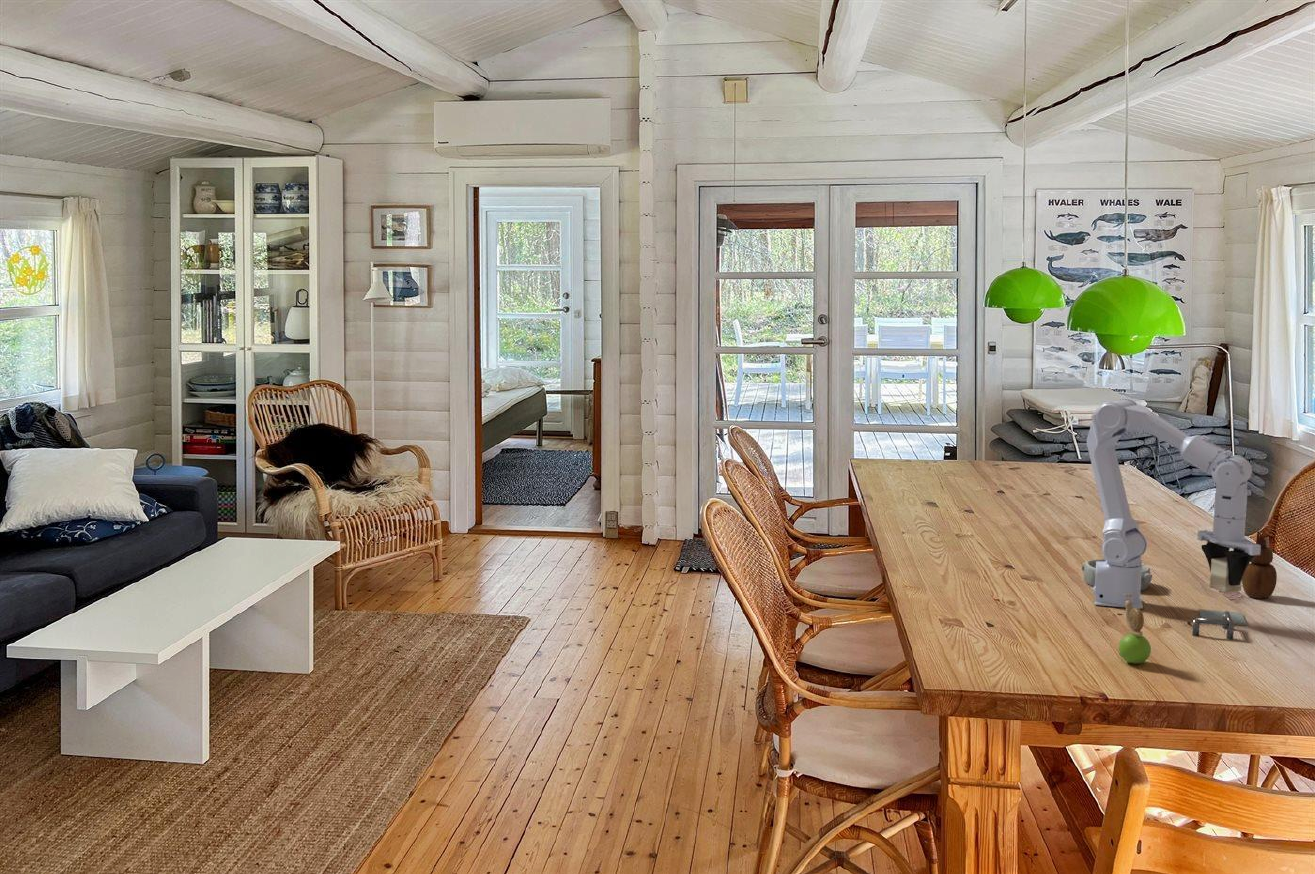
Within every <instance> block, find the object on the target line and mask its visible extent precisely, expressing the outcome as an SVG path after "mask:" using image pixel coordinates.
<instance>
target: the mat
mask: <svg viewBox="0 0 1315 874" xmlns="http://www.w3.org/2000/svg"><path fill="white" fill-rule="evenodd" d="M1225 611H1226V610H1225ZM1225 611H1224V610H1215V609H1214V610H1211V609H1201V608H1198V612H1199V615H1200V618H1205V619H1217V620H1223V613H1224V612H1225ZM1228 612H1229V613H1230V616H1231V618H1232V621H1233V622H1234V626H1235V625H1236V626H1246V627H1247V622H1246V619H1245V617H1244V615H1243V613H1242V612H1237V611H1235V612H1234V611H1228Z"/></svg>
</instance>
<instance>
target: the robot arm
mask: <svg viewBox="0 0 1315 874" xmlns="http://www.w3.org/2000/svg"><path fill="white" fill-rule="evenodd" d="M1127 431H1144V432H1147V434H1148V433H1149V434H1150V435H1152V436H1154V437H1156V438H1158V439H1160V440H1161V441H1163V442H1164V443H1166V444H1169V445H1170V446H1172V447H1175V448H1176V449H1177V450H1179V454H1180V457H1181V459H1183V460H1184V461H1186V462H1187V463H1189V464H1191V465H1192V466H1194V467H1195V468H1197V469H1198V470H1201V471H1202V472H1204V473H1205V474H1208V475H1209V476H1211V477H1212V480H1213V482H1214V483H1215V493H1214V508H1213V525H1212V531H1211V530H1207V529H1203V530H1197V538H1196V539H1197V540H1198V541H1202V542H1203V541H1204V542H1206V544H1202V545H1201V547H1200V548H1201V550H1202V551H1203V554H1204V555H1205V557H1206V559H1207V560H1206V561H1207V563H1208V567H1209V571H1210V573H1211V559H1214V558H1224V557H1226V559H1227V563H1228V580H1229V585H1231V586H1235V585H1240V582H1241V580H1242V577H1243V574H1244V572H1245V570H1246V568H1247V566H1248V564H1250V563H1251V562H1250V561H1251V560H1252V559H1253V557H1254V556H1255V555H1260V550H1261V545H1258V544H1256V542H1254V541H1251V540H1249V539H1247V538H1245V535H1246V533H1245V532H1246V518H1247V516H1246V515H1247V503H1248V481H1249V480H1250V478H1251V477H1252V474H1253V468H1252V464H1251V463H1250V461H1249V460H1247V459H1246V458H1245V457H1244V456H1243V455H1240V454H1237V455H1236V454H1234V455H1233V452H1232V451H1231V450H1230V449H1227V450H1225V449H1223V448H1221V447H1220V446H1218V445H1217V444H1215V443H1213V442H1212V441H1211V440H1212V438H1211V437H1209V436H1207V435H1203V436H1201V435H1200V434H1196V435H1192V436H1190V435H1188V434H1186V433H1185V432H1184V431H1181V430H1180V429H1179V428H1177V427H1176V426H1174V425H1172V423H1170V422H1168V421H1167V420H1165V419H1164V418H1162V417H1160V416H1159V415H1157V414H1156V413H1154V412H1153V411H1151V410H1150V409H1149V408H1148V407H1146V406H1145V405H1142V404H1140V403H1137V402H1136V401H1134V400H1133V399H1130V398H1122V399H1119V400H1116V401H1108V402H1104V403H1101V404H1100V405H1099V406H1098V408H1096V410H1095V411H1094V412H1093V413H1092V414H1091V424H1090V428H1089V431H1088V434H1087V439H1086V445H1087V449H1088V454H1089V459H1090V463H1091V466H1092V472H1093V475H1094V479H1095V484H1096V487H1097V492H1098V496H1099V500H1100V504H1101V505H1100V506H1101V508H1102V509H1101V510H1102V513H1103V516H1104V526H1103V528H1102V538H1103V539H1102V541H1103V542H1102V545H1101V551H1102V555H1103V557H1104V559H1106V561H1103V562H1100V561H1097V562H1096V578H1095V586H1094V587H1093V586H1092V587H1093V589H1092V590H1093V591H1092V592H1093V593H1092V594H1093V595H1094V605H1096V606H1103V607H1104V606H1106V607H1115V608H1117V607H1118V608H1126V606H1125V602H1126V600H1130V601H1131V602H1132V603H1133V606H1132V608H1139V609H1140V610H1143V608H1144V605H1143V598H1142V597H1141V594H1142V593H1141V592H1142V590H1141V573H1142V564H1143V561H1142V558H1141V557H1142V556H1143V555H1144V554H1145V553H1146V552H1147V548H1148V541H1147V538H1146V537H1145V535H1144V534H1143V533H1142V531H1141V530H1140V528H1139V523H1138V522H1137V521H1136V520H1135V519H1134V517H1133V516H1132V514H1131V510H1130V507H1129V501H1128V498H1127V493H1126V489H1125V484H1124V479H1123V477H1122V473H1121V468H1120V464H1119V460H1118V456H1117V452H1116V448H1115V445H1116V444H1117V443H1118V441H1119V440H1120V439H1121V437H1122V436H1123V435H1124V433H1126V432H1127ZM1230 549H1232V550H1230ZM1125 594H1128V595H1129V594H1131V595H1132V596H1131V597H1129V596H1128V597H1127V598H1126V596H1125Z"/></svg>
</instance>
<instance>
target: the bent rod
mask: <svg viewBox="0 0 1315 874" xmlns="http://www.w3.org/2000/svg"><path fill="white" fill-rule="evenodd" d="M1229 612H1230V611H1229V610H1225V612H1224V613H1223V620H1217V619H1205V618H1201V617H1195V619H1193V620H1192V633H1191V634H1192V636H1194V637H1199V636H1200V625H1201V624H1204V625H1217V626H1222V629H1225V630H1226V636H1225V638H1226V639H1227V640H1233V639H1234V630H1235V625H1234V622H1233V621H1232V618H1231V616H1230V613H1229Z"/></svg>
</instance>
